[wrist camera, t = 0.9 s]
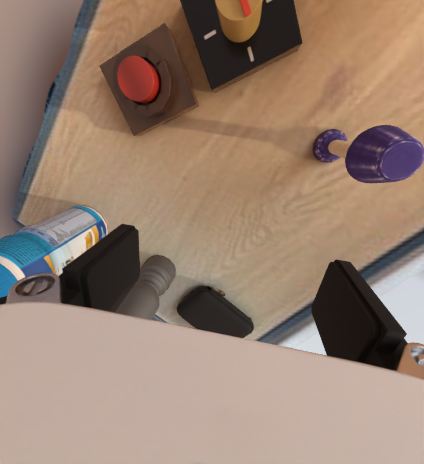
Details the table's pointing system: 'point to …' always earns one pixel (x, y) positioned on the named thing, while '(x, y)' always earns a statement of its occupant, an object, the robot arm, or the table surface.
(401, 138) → the toy lamp
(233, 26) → the dimmer knob
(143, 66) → the power button
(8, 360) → the robot arm
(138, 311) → the candle holder
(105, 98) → the table surface
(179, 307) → the carrying case
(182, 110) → the switch box
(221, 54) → the dimmer
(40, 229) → the beverage bottle
